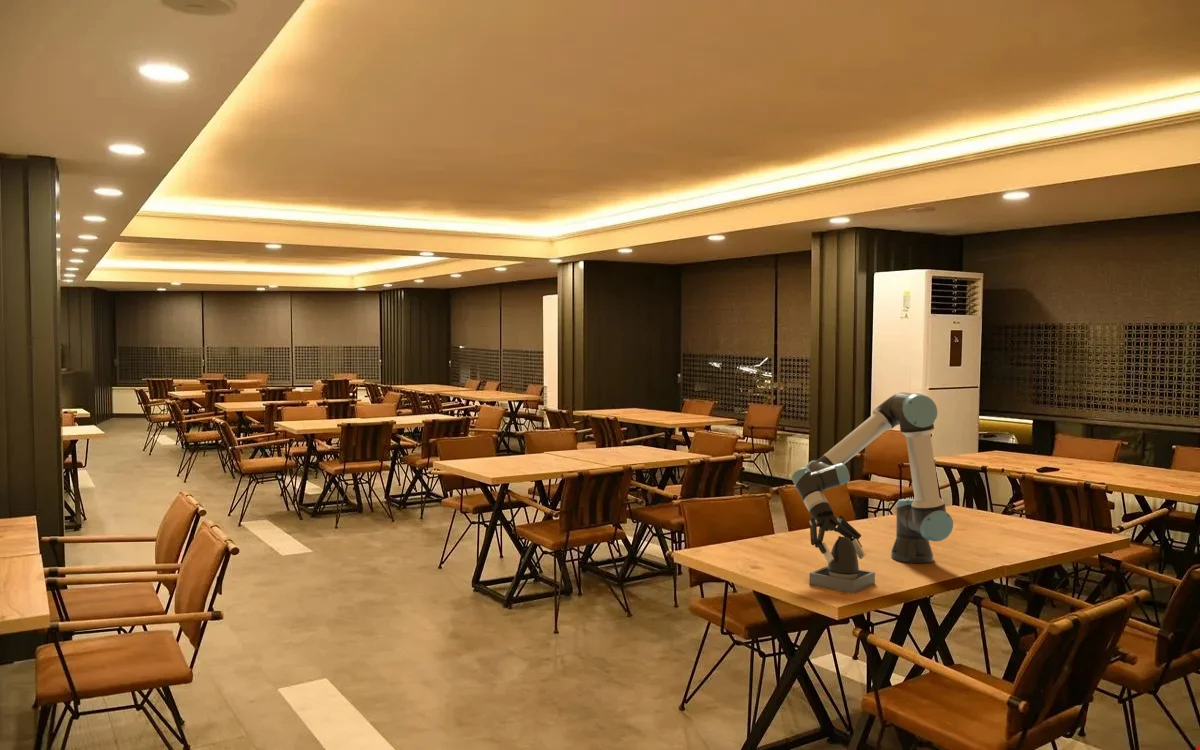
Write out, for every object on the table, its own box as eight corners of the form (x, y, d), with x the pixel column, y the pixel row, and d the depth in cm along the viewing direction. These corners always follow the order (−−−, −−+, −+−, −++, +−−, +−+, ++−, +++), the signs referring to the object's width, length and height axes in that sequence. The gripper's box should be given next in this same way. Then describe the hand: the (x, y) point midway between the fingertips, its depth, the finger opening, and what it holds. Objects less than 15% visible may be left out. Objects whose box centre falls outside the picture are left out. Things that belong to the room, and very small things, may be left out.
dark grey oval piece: (852, 577, 295) (853, 533, 295) (862, 585, 285) (864, 540, 284) (823, 576, 295) (824, 533, 294) (832, 584, 284) (834, 539, 284)
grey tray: (831, 575, 301) (831, 564, 301) (874, 584, 290) (874, 572, 290) (809, 584, 289) (809, 572, 289) (853, 593, 278) (853, 581, 278)
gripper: (841, 510, 308) (870, 561, 295) (785, 516, 298) (812, 568, 285) (851, 498, 303) (881, 549, 290) (794, 503, 293) (822, 556, 280)
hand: (847, 559), depth 287 cm, fingers open, 13 cm apart
